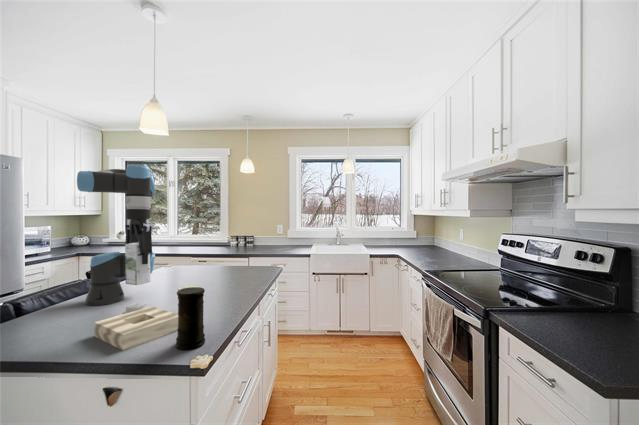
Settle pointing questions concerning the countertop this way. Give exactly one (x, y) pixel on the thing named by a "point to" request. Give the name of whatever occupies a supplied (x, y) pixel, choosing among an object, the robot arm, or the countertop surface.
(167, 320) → the socket block
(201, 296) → the container
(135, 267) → the syrup box
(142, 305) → the mechanical component
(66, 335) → the countertop surface
